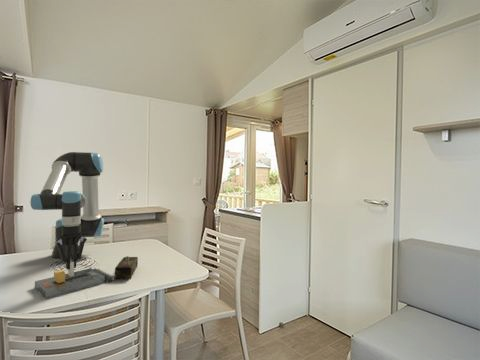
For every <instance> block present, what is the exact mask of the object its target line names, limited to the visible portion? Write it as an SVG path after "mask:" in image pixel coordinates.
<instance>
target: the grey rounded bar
mask: <svg viewBox="0 0 480 360" xmlns="http://www.w3.org/2000/svg"><path fill="white" fill-rule="evenodd" d="M92 269H93V270H95V271H96V272H98V273H100V274H102V275H103V276H105V282H111V281H114V280H115V276H113V275H112V274H109V273H108V272H106V271H104V270H103V269H100V268H92Z"/></svg>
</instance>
